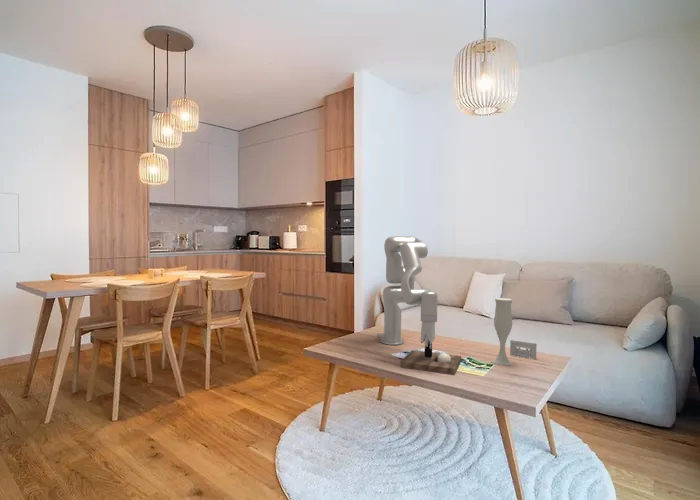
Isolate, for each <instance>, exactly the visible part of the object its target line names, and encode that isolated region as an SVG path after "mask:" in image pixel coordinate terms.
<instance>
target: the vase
mask: <svg viewBox="0 0 700 500" xmlns="http://www.w3.org/2000/svg"><path fill="white" fill-rule="evenodd" d="M494 299H495V308H494V309H495V312H494V316H493V324H494V325H493V326H494V329H495V331H496V335H497V338H498V341H499V352H498V354H497V357H496V358H494V360H492V363H494V364H497V365H501V366H510V365H513V363H512V361H511V360H510V359H508V356H507V352H506V343H507V339H508V337H509V335H510V334H511V330H512V328H513V315H512V302H513V299H511V298H508V297H506V298H505V297H497V298H494Z"/></svg>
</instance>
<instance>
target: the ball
mask: <svg viewBox="0 0 700 500" xmlns="http://www.w3.org/2000/svg"><path fill="white" fill-rule="evenodd" d="M449 355H450V354H449V353H446V352H442V353H440V355H439V356H438V362H439V363H451V357H450V356H449Z"/></svg>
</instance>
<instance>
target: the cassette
mask: <svg viewBox="0 0 700 500" xmlns="http://www.w3.org/2000/svg"><path fill="white" fill-rule="evenodd" d="M537 346H538V344H537V343H536V342H529V341H521V340H514V339H511V340H510V347H509V351H510V352H509V355H510V356H512V355H514V357H517V356H519V357H518V358H523V357H525V359H529V357H530V358H534V359H533V360H537ZM521 348H523V349H521Z"/></svg>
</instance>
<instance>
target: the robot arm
mask: <svg viewBox="0 0 700 500" xmlns="http://www.w3.org/2000/svg"><path fill="white" fill-rule="evenodd" d="M383 248H384V253H385V257H386V265H385V266H386V267H385V280H386V282H387V283H388V284H392V285H389V286H385V288H383V289H382V299H383V309H384V312H383V313H384V314H383V315H384V316H383V324H384V325H383V333H379V332H378V333H376V334H377V335H376V336H377V338H380V339H381V340H380V341H381V342H380V343H382V344H384V345H389V346H399V345H403V344H404V343H405V340H404V339H403V338H402V309H401V307H400V306H399V304H400V303H401V304H403V303H405V304H407V305H410V306H417V305H420V322H421V329H420V330H421V331H420V343H421V344H423V343H424V352H425V357H428V358H431V357H432V353H433V343H434V341H435V338H436V323H437V322H438V293H437V292H436V291H433V290H431V289H429V288H415V276H416V275H418V274H420V273H421V272H422V270H423V266H422V263H421V261H420V260H421V259H424V258H426V257H427V256H428V253H429V250H428V247H427V245H426V243H425V242H424V241H422V240H420V239H419V238H417V237H416V236H404V235H403V236H402V235H399V236H398V235H397V236H396V235H395V236H389V237H387V238H386V239H385V241H384V247H383ZM402 264H403V266H402ZM393 284H394V285H393ZM395 284H396V285H395ZM397 284H400V285H397Z"/></svg>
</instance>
